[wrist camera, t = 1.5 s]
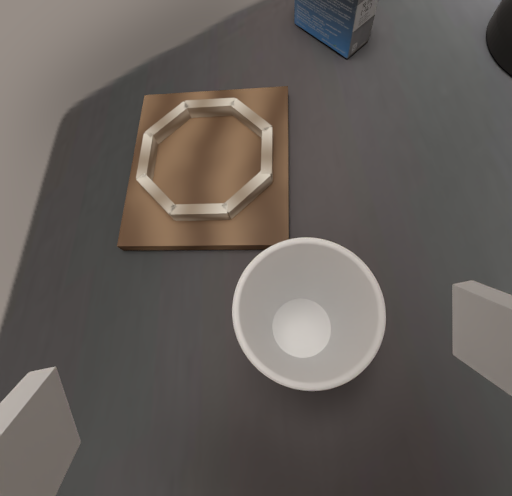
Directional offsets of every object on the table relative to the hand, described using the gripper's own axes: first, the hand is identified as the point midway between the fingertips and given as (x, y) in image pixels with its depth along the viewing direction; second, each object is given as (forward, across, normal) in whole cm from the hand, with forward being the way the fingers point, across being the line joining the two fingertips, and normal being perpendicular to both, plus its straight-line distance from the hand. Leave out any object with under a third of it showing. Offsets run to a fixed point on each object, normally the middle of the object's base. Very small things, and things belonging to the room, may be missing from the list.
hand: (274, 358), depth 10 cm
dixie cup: (+15, +4, -7) cm, 17 cm away
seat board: (+25, 0, +7) cm, 26 cm away
